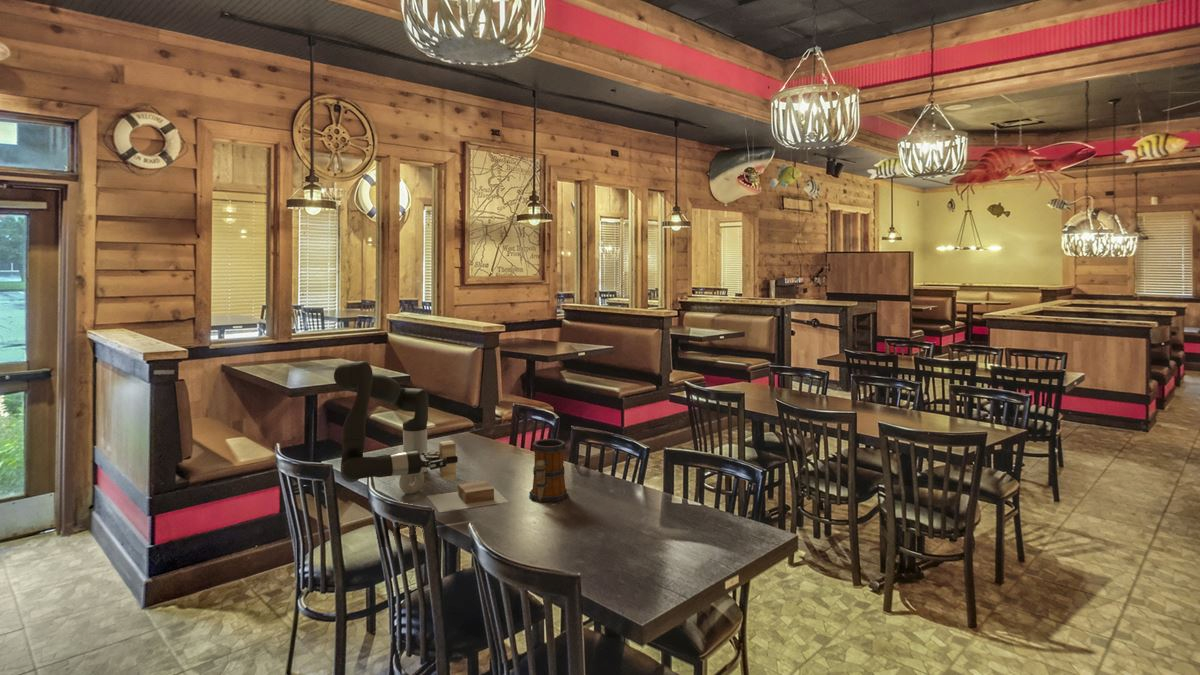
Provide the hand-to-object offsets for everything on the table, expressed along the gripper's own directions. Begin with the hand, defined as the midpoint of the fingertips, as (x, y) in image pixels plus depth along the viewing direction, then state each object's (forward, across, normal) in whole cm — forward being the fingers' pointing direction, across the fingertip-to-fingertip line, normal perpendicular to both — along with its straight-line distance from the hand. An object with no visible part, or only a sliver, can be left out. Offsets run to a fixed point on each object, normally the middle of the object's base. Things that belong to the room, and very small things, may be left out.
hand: (455, 457), depth 237 cm
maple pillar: (-3, 0, +7) cm, 7 cm away
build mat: (+4, 0, +16) cm, 16 cm away
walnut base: (+7, 0, +15) cm, 17 cm away
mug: (+29, -12, +16) cm, 35 cm away
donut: (-12, +15, +16) cm, 25 cm away
